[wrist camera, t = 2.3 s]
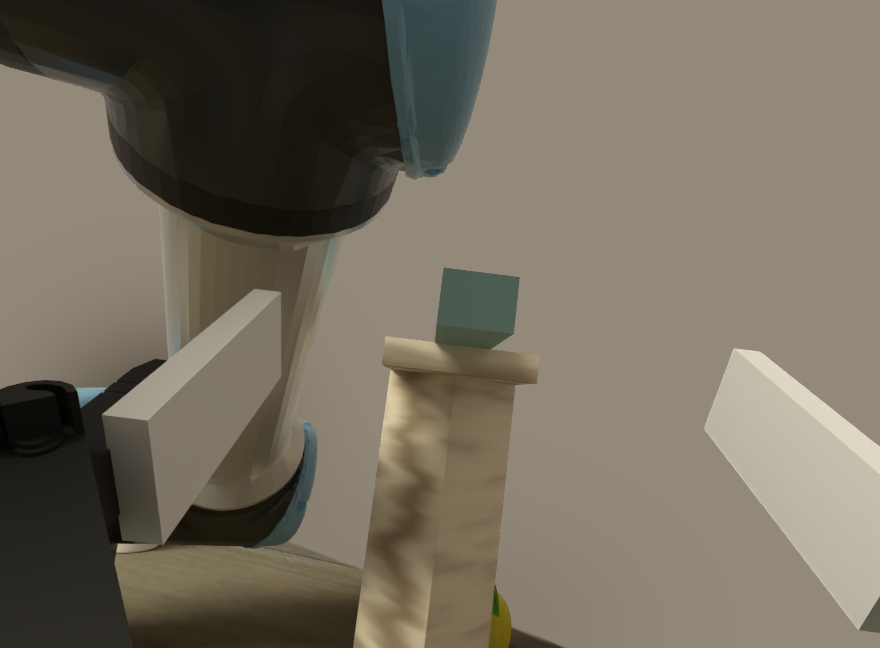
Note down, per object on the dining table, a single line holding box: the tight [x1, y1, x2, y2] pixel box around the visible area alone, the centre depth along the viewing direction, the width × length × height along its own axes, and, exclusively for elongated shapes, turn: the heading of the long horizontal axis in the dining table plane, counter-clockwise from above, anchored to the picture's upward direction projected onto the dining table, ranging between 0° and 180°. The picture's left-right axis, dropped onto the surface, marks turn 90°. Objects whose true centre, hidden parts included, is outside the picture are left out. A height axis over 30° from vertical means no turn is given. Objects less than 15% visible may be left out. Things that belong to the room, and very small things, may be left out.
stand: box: [353, 336, 539, 648], centre depth 43 cm, size 11×18×30 cm, turn 1°
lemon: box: [488, 585, 511, 648], centre depth 51 cm, size 7×6×10 cm
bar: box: [435, 268, 519, 349], centre depth 39 cm, size 26×4×3 cm, turn 1°
